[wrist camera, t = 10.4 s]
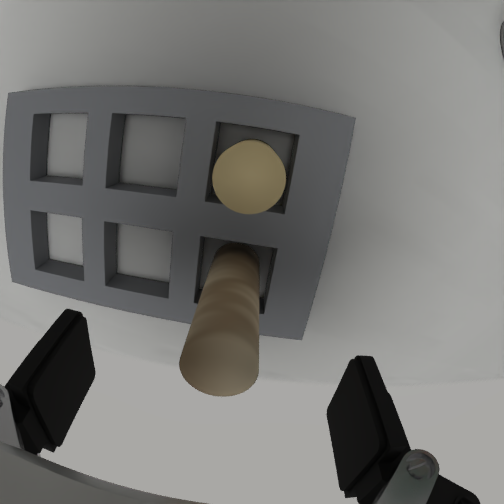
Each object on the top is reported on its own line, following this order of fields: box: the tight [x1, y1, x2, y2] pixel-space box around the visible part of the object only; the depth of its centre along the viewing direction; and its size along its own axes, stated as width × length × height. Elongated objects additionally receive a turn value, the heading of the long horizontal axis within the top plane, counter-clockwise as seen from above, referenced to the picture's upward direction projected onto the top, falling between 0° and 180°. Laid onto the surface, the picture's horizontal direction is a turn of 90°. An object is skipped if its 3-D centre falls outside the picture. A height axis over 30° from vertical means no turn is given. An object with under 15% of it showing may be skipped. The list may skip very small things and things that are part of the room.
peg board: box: [3, 86, 356, 340], centre depth 17 cm, size 22×14×6 cm, turn 81°
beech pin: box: [179, 243, 260, 396], centre depth 16 cm, size 3×3×10 cm
